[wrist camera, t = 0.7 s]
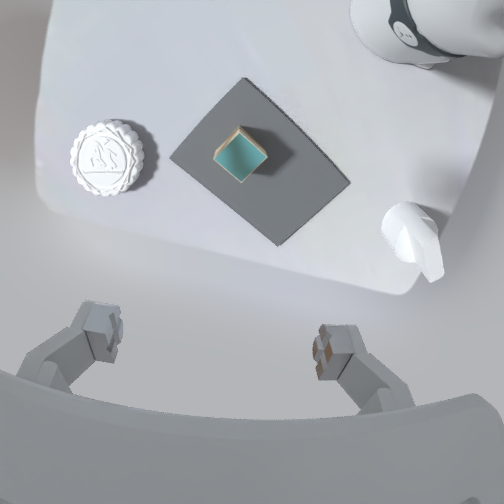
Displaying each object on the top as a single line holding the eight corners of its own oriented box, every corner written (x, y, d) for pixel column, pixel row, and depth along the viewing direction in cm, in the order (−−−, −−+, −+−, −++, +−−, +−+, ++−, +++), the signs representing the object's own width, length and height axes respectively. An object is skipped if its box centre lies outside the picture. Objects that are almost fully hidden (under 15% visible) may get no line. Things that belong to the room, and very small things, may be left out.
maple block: (239, 125, 41) (239, 131, 37) (264, 148, 43) (267, 157, 39) (215, 150, 43) (213, 159, 39) (241, 171, 45) (241, 183, 41)
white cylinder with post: (375, 215, 50) (404, 253, 40) (416, 193, 48) (452, 225, 38) (388, 252, 55) (415, 292, 45) (426, 231, 52) (458, 267, 42)
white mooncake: (144, 116, 40) (137, 120, 37) (146, 190, 46) (140, 199, 44) (75, 121, 39) (65, 126, 36) (82, 190, 46) (73, 198, 43)
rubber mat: (242, 77, 38) (242, 77, 37) (348, 182, 47) (349, 183, 46) (169, 157, 43) (169, 158, 43) (277, 244, 53) (277, 246, 52)
